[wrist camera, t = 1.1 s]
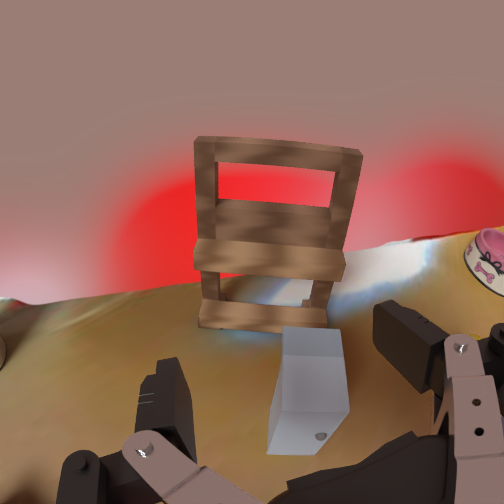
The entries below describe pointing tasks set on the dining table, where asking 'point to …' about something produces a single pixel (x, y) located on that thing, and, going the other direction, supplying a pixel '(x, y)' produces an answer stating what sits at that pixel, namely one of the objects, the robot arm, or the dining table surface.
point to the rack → (270, 232)
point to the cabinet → (308, 391)
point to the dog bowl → (487, 259)
